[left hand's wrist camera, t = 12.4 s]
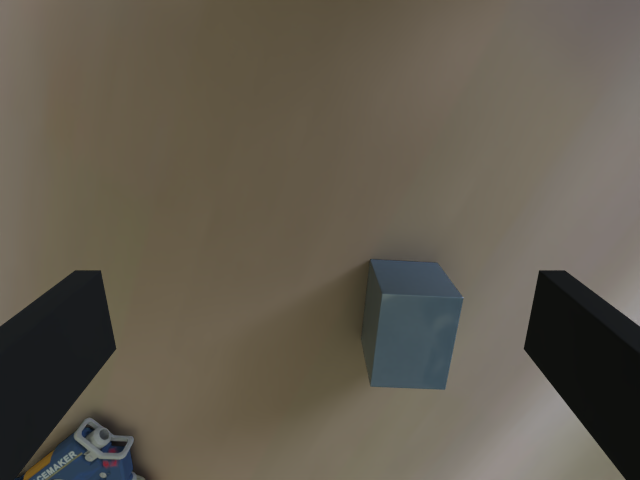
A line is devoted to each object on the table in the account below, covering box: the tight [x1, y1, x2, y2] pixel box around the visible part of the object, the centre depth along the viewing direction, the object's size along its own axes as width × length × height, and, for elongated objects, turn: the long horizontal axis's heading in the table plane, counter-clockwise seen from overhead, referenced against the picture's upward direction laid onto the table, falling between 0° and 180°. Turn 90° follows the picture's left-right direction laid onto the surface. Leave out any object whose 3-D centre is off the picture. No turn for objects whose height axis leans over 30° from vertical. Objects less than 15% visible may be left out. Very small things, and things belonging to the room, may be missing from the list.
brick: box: [361, 259, 463, 390], centre depth 38 cm, size 7×9×7 cm
